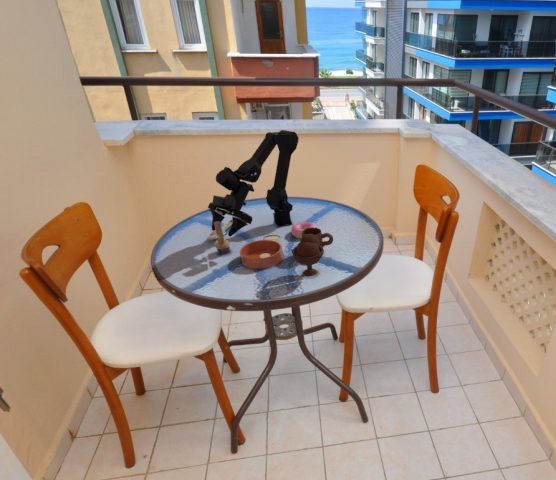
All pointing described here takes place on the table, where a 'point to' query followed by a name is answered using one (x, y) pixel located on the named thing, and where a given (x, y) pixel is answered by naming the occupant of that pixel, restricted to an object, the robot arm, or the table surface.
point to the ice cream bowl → (308, 253)
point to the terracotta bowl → (259, 247)
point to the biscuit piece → (264, 255)
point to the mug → (319, 236)
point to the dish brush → (221, 240)
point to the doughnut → (301, 228)
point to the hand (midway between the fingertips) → (220, 233)
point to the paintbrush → (214, 235)
